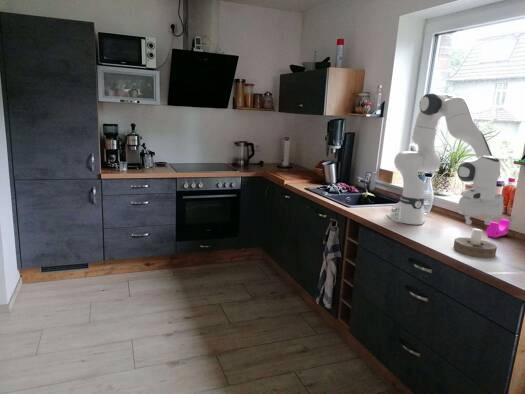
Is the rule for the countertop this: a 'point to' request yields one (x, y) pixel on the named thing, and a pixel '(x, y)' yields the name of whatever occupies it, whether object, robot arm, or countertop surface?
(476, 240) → the dowel
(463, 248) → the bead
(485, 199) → the robot arm
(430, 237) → the countertop surface
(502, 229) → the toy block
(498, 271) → the countertop surface
